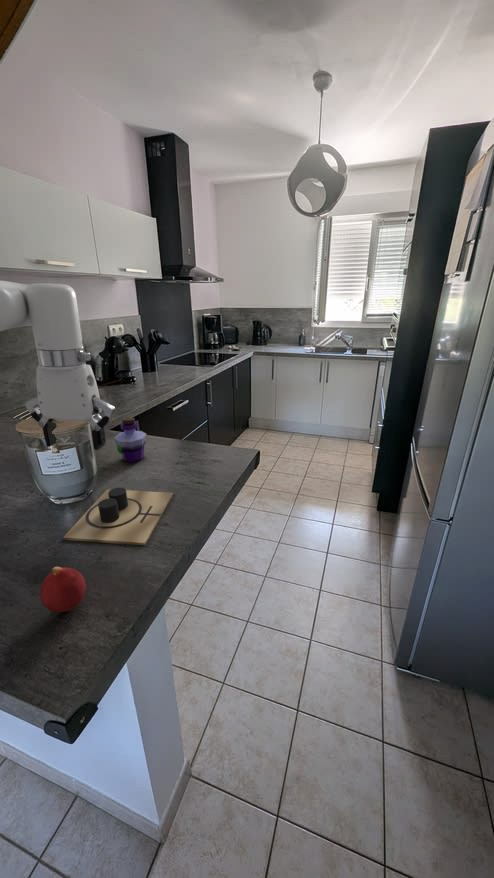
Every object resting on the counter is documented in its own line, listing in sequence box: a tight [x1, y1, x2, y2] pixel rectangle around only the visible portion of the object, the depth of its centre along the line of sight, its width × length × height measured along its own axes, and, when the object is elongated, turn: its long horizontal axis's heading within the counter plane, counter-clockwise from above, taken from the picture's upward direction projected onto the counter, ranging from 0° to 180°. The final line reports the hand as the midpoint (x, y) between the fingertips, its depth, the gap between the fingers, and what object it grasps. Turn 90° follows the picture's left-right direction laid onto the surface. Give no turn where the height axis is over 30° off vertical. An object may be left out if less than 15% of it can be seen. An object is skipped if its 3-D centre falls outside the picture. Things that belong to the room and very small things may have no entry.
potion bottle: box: [113, 416, 148, 464], centre depth 98 cm, size 9×9×12 cm
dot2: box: [108, 487, 128, 510], centre depth 76 cm, size 4×4×4 cm
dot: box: [98, 498, 119, 523], centre depth 72 cm, size 4×4×4 cm
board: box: [62, 488, 174, 546], centre depth 75 cm, size 16×18×1 cm
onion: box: [39, 566, 87, 614], centre depth 51 cm, size 6×6×8 cm
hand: (76, 445), depth 70 cm, fingers open, 9 cm apart
